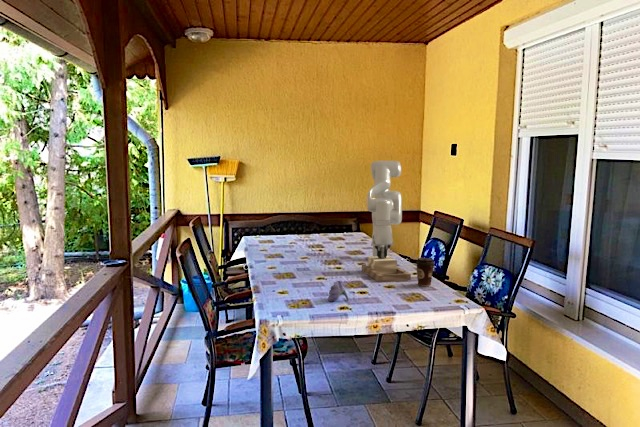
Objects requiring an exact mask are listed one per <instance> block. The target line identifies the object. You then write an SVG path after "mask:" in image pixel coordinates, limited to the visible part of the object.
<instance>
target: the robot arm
mask: <svg viewBox="0 0 640 427" xmlns="http://www.w3.org/2000/svg"><path fill="white" fill-rule="evenodd" d="M370 172H371V176H372V179H373V182H374V184H373V185H372V186H371V187H370V188H369V191H368V193H367V195H366V208H367V210H368V212H371V220H372V236H371V242H370V243H371V244H370V246H371V247H372V257H373V256H378V258H381V251H380V247H385V249H384V258H386V256H390V254H389V253H390V252H389V251H390V248H391V247H393V246H394V240H393V230H392V226H391V225H393V226H394V225H395V226H396V225H397V226H398V225H400V224H401V223H402V222H403V221H402V220H403V199H402V198H403V197H402V194H401V192H400V191H398V190H390V187H391V186H392V184H391V178H400V176H401V174H402V165H401V162H400V161H399V160H376V161H375V160H374V161H372V162H371V164H370Z"/></svg>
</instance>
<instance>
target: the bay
mask: <svg viewBox="0 0 640 427" xmlns="http://www.w3.org/2000/svg"><path fill="white" fill-rule="evenodd" d="M361 272H363V273H364V274H366V275H368V276H369V277H370V278H372V279H373V280H375V281H377V282H378V283H389V282H407V281H408V280H412V278H411V276H412V274H411V273H409V272H408V271H406V270H404V269H402V268H400V267H398V266H397V273H394V274H380V273H378V272H376V271H375V270H373V269H372V268H370V267H368V266H367V264H361ZM408 282H409V281H408Z"/></svg>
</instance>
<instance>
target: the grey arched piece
mask: <svg viewBox="0 0 640 427" xmlns="http://www.w3.org/2000/svg"><path fill="white" fill-rule="evenodd" d="M341 296H345V298H346V301H349V299H350V298H349V296H348V293H347V292H346V289H345V287H344V285H343V284H342V282H341V280H336V281H334V282H333V285H331V287H330V290H329V292H328V297H327V301H328V302H335V301H337V300H339V298H340V297H341Z"/></svg>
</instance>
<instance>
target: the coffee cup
mask: <svg viewBox="0 0 640 427" xmlns="http://www.w3.org/2000/svg"><path fill="white" fill-rule="evenodd" d="M415 264H416V277H417V285H418V286H420V287H425V286H429V287H431V286H432V284H431V283H432V277H433V274H434V272H433V271H434V267H435V262H434V260H433V258H427V257H418V258H417V260H416V261H415Z"/></svg>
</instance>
